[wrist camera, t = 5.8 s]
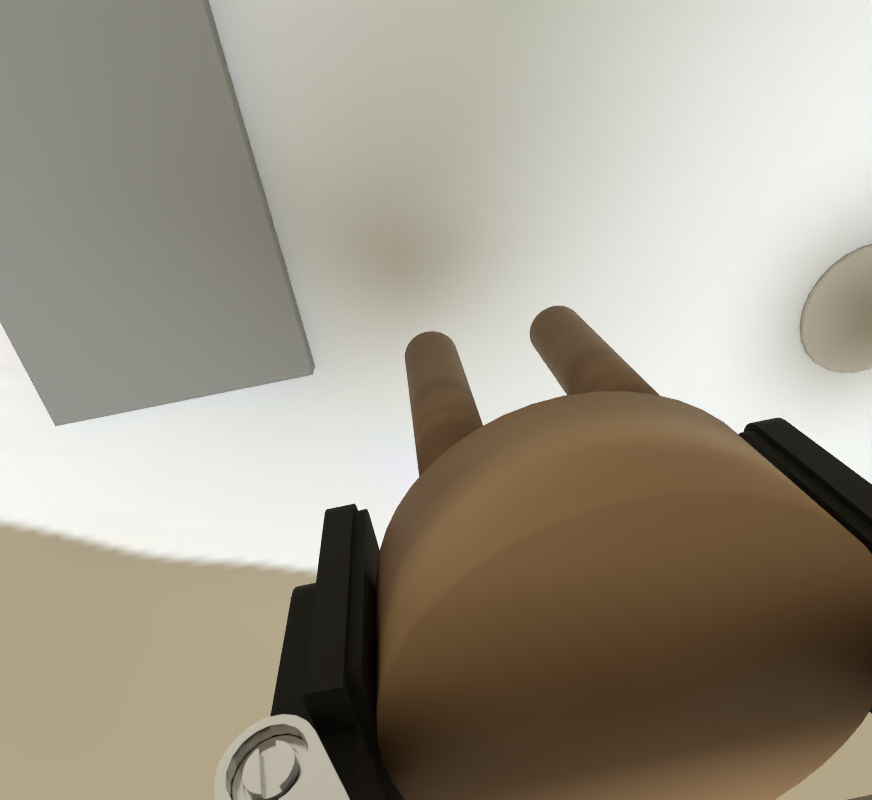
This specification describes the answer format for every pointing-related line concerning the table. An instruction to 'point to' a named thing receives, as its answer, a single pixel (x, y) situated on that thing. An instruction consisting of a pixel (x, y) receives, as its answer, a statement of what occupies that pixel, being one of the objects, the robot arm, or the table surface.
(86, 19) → the mat
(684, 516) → the stool
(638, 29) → the table surface
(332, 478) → the table surface
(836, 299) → the wineglass
